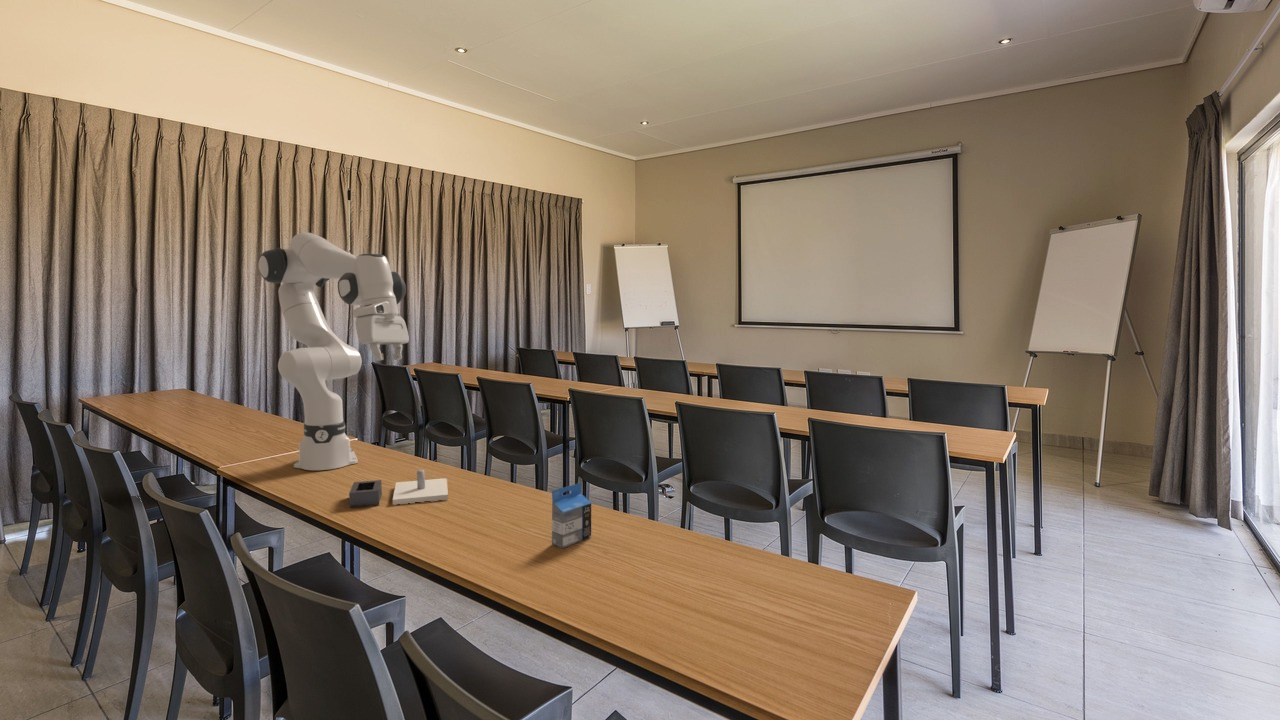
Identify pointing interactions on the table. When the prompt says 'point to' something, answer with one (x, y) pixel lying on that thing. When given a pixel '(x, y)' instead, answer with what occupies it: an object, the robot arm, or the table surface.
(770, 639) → the table surface
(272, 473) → the table surface
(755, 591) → the table surface
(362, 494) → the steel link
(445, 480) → the keeper plate
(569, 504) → the label tape cartridge
